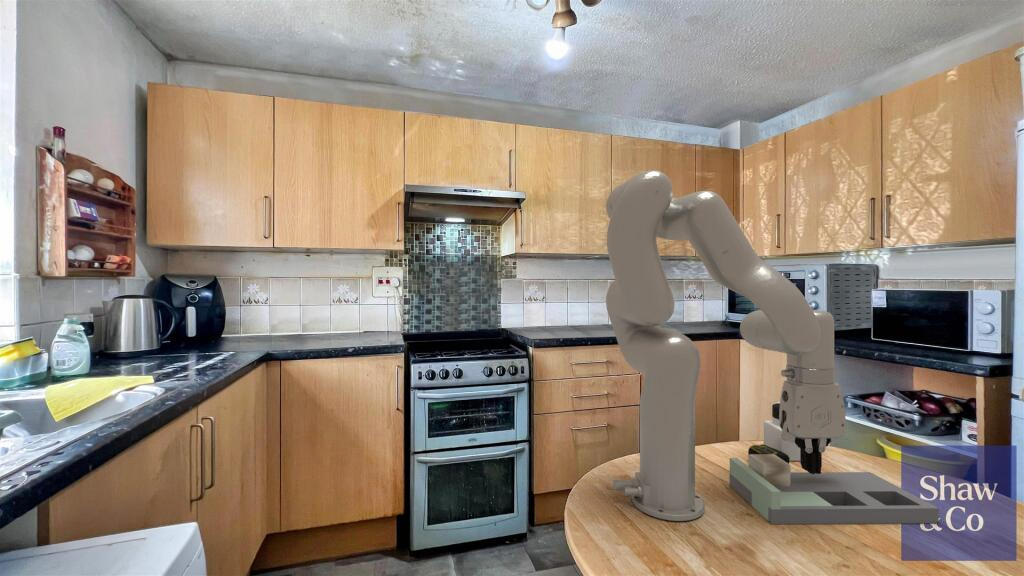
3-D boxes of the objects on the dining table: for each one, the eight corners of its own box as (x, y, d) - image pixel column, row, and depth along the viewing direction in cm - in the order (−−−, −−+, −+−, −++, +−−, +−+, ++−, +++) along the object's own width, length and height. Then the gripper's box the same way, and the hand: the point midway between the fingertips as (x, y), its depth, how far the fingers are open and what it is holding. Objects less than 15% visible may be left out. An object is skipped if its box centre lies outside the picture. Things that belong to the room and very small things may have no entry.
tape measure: (791, 470, 94) (791, 452, 94) (766, 474, 92) (767, 456, 92) (764, 458, 101) (764, 441, 101) (740, 461, 99) (740, 445, 99)
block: (763, 486, 81) (763, 464, 81) (748, 474, 86) (748, 454, 86) (790, 486, 81) (790, 464, 81) (774, 474, 86) (774, 454, 86)
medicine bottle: (812, 461, 99) (813, 408, 98) (780, 461, 99) (781, 408, 98) (792, 449, 106) (793, 399, 106) (763, 449, 106) (763, 399, 106)
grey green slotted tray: (771, 524, 73) (771, 491, 73) (729, 485, 87) (729, 457, 87) (938, 523, 73) (939, 490, 73) (869, 484, 87) (869, 457, 87)
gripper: (783, 380, 80) (784, 480, 80) (865, 378, 80) (865, 479, 80) (759, 372, 87) (760, 463, 87) (834, 370, 87) (835, 462, 87)
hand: (811, 470), depth 84 cm, fingers closed
